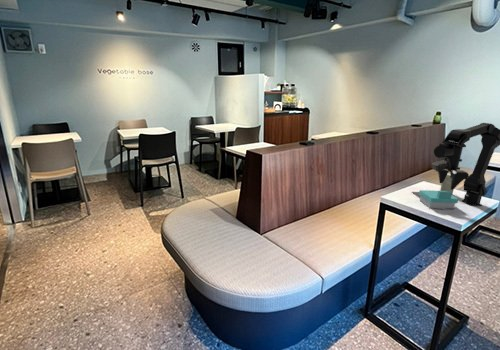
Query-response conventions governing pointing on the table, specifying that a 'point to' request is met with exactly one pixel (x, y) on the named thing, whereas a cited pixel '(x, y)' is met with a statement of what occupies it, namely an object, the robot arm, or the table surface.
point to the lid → (439, 196)
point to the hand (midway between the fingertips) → (446, 186)
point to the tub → (436, 204)
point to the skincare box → (447, 184)
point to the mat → (417, 194)
